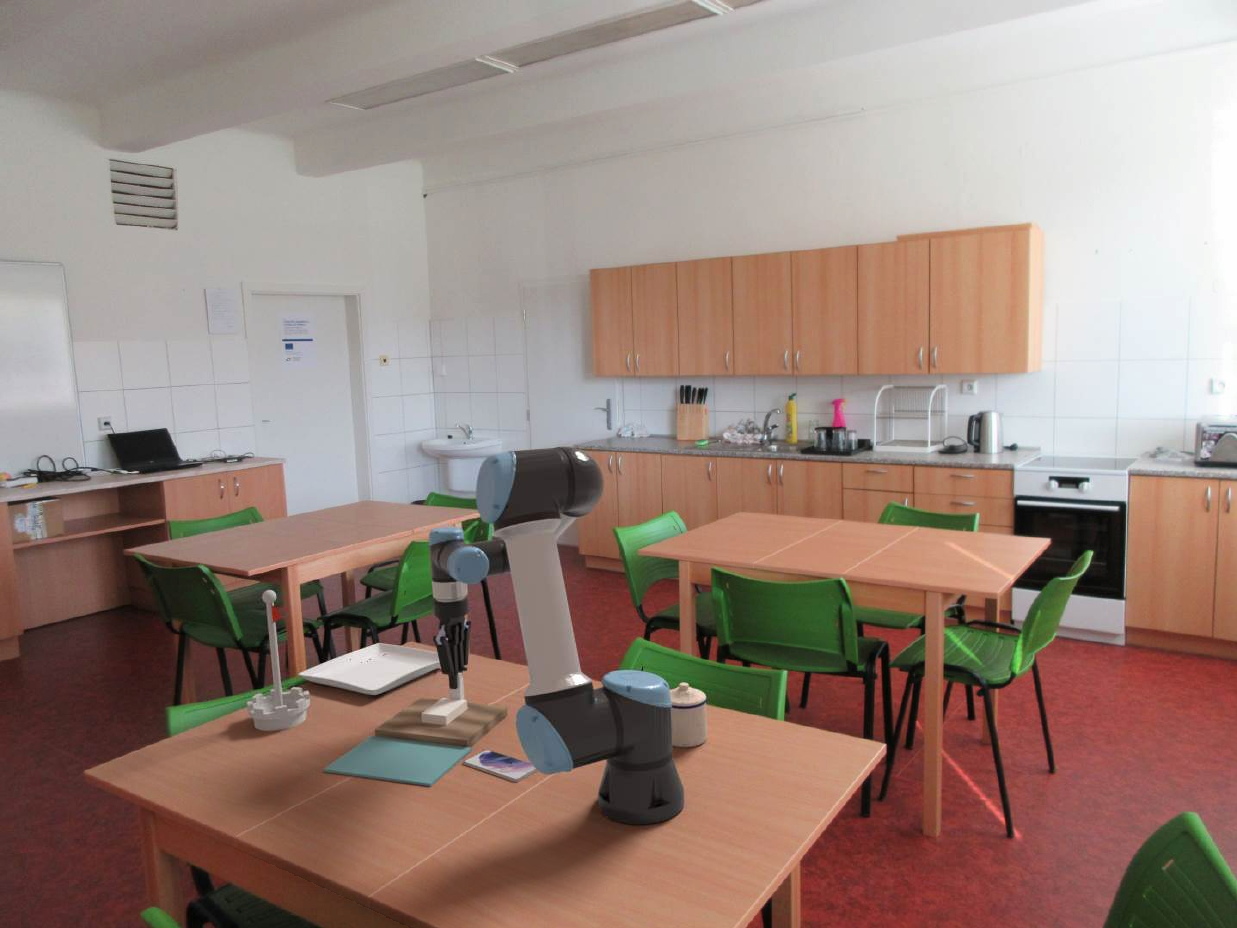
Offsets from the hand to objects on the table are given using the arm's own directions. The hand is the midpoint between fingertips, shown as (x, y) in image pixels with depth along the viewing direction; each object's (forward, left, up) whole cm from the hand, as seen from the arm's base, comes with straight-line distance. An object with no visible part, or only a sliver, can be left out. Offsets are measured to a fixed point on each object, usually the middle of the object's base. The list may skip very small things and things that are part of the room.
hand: (457, 700), depth 204 cm
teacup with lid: (+1, -51, -4) cm, 51 cm away
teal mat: (-23, 0, -3) cm, 24 cm away
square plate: (+18, +33, -4) cm, 38 cm away
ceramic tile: (-5, 0, -1) cm, 5 cm away
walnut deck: (-6, 0, -3) cm, 7 cm away
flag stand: (-12, +38, -4) cm, 40 cm away
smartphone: (-20, -21, -4) cm, 29 cm away
